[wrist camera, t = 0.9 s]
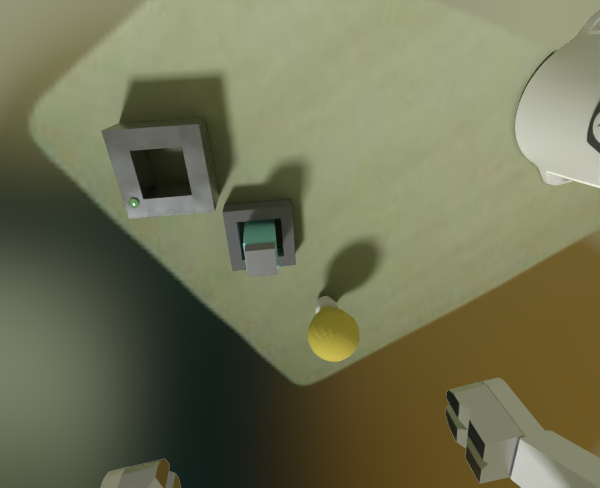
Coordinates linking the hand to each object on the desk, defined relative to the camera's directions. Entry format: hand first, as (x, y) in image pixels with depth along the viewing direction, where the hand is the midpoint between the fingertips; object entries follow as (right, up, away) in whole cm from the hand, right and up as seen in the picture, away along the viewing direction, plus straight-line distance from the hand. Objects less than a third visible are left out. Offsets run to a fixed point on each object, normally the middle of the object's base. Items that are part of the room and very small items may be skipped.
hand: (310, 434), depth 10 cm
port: (-15, +15, +29) cm, 35 cm away
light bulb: (+3, -3, +40) cm, 40 cm away
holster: (-5, +7, +34) cm, 35 cm away
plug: (-5, +7, +34) cm, 35 cm away
